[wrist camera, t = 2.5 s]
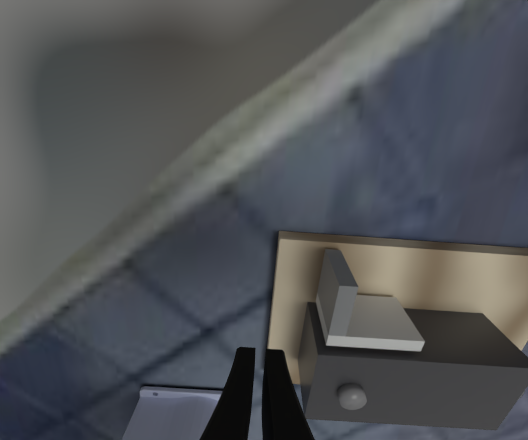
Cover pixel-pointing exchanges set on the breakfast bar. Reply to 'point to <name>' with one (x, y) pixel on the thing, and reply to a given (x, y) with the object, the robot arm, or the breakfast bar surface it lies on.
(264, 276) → the breakfast bar surface
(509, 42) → the breakfast bar surface
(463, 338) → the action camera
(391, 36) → the breakfast bar surface
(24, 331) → the breakfast bar surface
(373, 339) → the door
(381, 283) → the board
